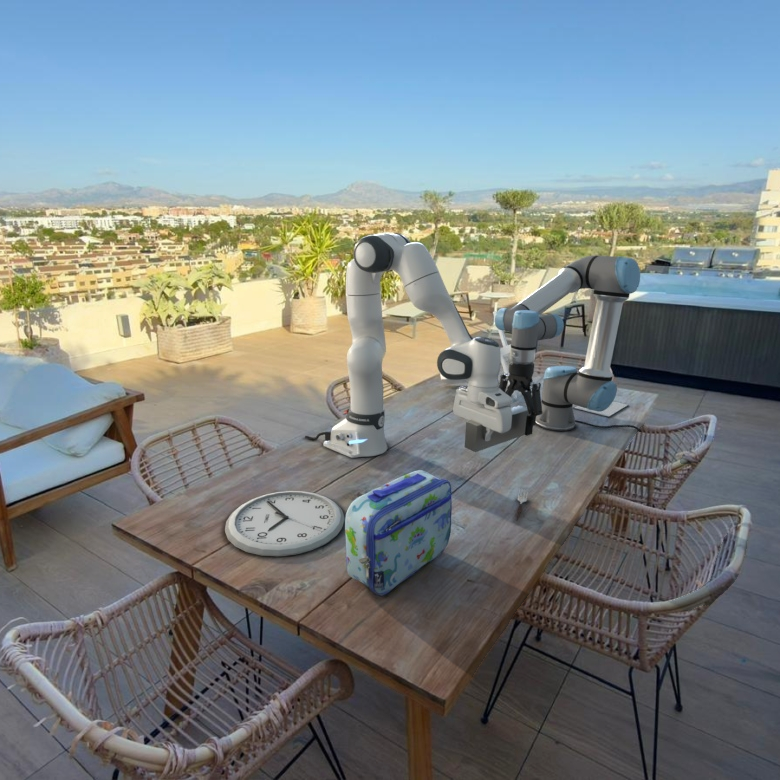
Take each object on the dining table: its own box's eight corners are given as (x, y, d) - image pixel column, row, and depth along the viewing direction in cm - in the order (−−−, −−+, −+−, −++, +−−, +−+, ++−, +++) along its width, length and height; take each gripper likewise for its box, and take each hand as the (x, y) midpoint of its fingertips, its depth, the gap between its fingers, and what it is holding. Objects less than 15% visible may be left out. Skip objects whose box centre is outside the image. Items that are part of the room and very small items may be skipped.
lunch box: (373, 608, 104) (374, 515, 98) (339, 582, 112) (337, 495, 105) (455, 554, 122) (460, 473, 116) (421, 535, 129) (424, 458, 123)
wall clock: (344, 547, 121) (211, 552, 118) (344, 554, 121) (212, 558, 119) (344, 486, 149) (237, 489, 147) (344, 491, 150) (237, 494, 147)
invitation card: (608, 416, 214) (573, 407, 224) (608, 416, 214) (573, 408, 224) (628, 404, 229) (594, 396, 238) (628, 405, 229) (594, 397, 238)
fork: (511, 521, 136) (512, 514, 136) (519, 493, 150) (519, 487, 150) (521, 523, 135) (522, 516, 135) (528, 495, 150) (528, 489, 149)
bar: (516, 429, 171) (519, 405, 169) (527, 433, 168) (530, 409, 166) (464, 447, 157) (466, 421, 154) (475, 452, 154) (477, 425, 151)
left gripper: (449, 386, 158) (447, 429, 162) (502, 404, 143) (498, 450, 147) (464, 383, 162) (461, 424, 166) (517, 400, 147) (512, 445, 151)
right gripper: (486, 356, 166) (481, 421, 173) (544, 371, 150) (536, 443, 156) (501, 353, 171) (496, 417, 177) (560, 367, 154) (551, 437, 161)
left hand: (479, 437), depth 156 cm, fingers closed on bar, 4 cm apart
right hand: (515, 429), depth 167 cm, fingers open, 9 cm apart
